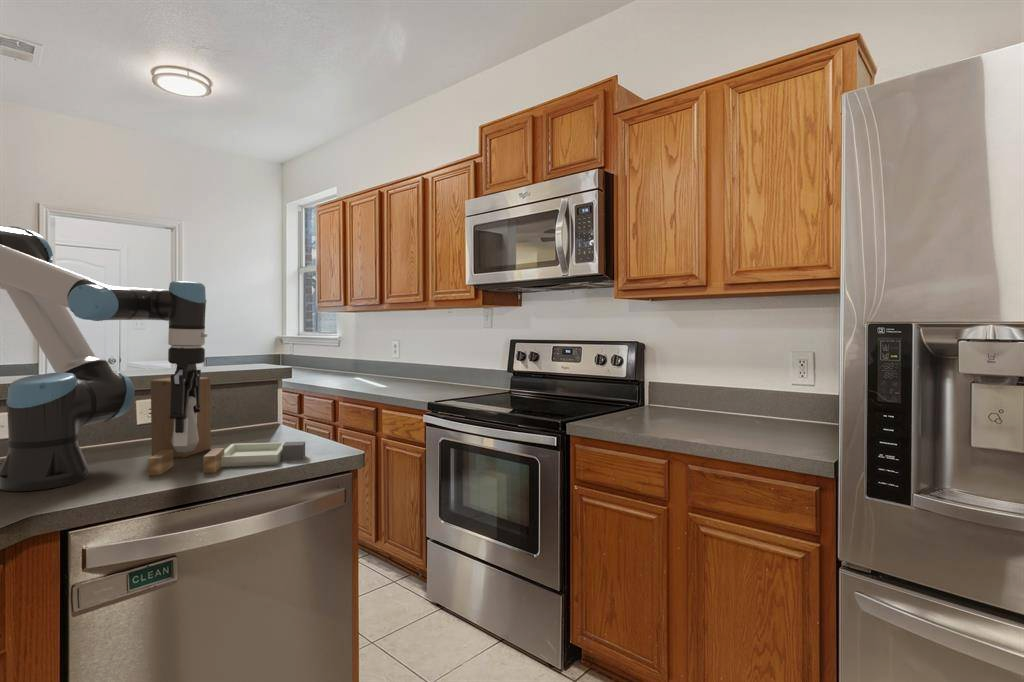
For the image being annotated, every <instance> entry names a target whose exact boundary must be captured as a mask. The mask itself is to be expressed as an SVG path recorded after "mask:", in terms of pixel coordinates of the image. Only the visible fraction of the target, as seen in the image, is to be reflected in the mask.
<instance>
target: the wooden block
mask: <svg viewBox="0 0 1024 682" xmlns="http://www.w3.org/2000/svg"><path fill="white" fill-rule="evenodd" d="M170 408H171V378H170V377H164V378H157V379H155V378H154V379H152V380H150V422H151V426H150V427H151V429H150V432H151V434H150V435H151V456H153V455H155V454H157V453H158V452H160V451H161V450H173V458H187V457H190V456H193V455H195V454H196V455H197V454H200V453H202V452H206V451H208V450H212V449H211V448H212V445H211V444H212V435H211V434H212V433H211V429H212V427H211V426H212V425H211V424H212V423H211V421H212V419H211V414H212V412H211V378H210V377H207V376H206V377H203V376H200V408H198V409H201V412H195V413H197V431H198V436H199V442H198V444H197V446H196V447H195V449H194V450H193V451H190V452H176V451H175V449H174V447H173V445H172V442H171V440H172V435H173V431H174V419H170V418H169V416H170Z"/></svg>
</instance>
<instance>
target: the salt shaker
mask: <svg viewBox="0 0 1024 682" xmlns="http://www.w3.org/2000/svg"><path fill="white" fill-rule="evenodd" d="M195 405H196V398H195V397H192V396H189V397H188V405H187V414H186V418H188V441H187V446H174V431H173V435H172V440H171V442H172V445H173V447H174V449H175V451H176V452H190V451H193V450H194V449H195V447H196V446H197V444H198V442H199V436H198V431H197V425H196V420H195V415H194V409H193V406H195Z"/></svg>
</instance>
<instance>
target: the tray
mask: <svg viewBox="0 0 1024 682" xmlns="http://www.w3.org/2000/svg"><path fill="white" fill-rule="evenodd" d="M284 443H285V441H281V442H279V441H277V442H253V443H251V442H249V443H248V442H247V443H244V442H243V443H231V444H229V446H227V447H226V448H224V455H223V456H222V457H221V468H226V467H227V468H230V467H231V466H232V467H249V466H250V467H251V466H254V467H255V466H275V465H276V466H277V465H279V464H280V462H281V460H283V444H284Z"/></svg>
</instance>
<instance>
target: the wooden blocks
mask: <svg viewBox="0 0 1024 682" xmlns="http://www.w3.org/2000/svg"><path fill="white" fill-rule="evenodd" d="M224 450H225V447H221V448H220V447H215V448H212V449H210V451H208V452H207V453H206V454H204V456H203V474H210V473H211V474H216V472H218V470H220V469H221V468H222V467H221V457H222V456H223V455H224ZM173 466H174V457H173V450H161V451H160V452H158V453H157V454H155V455H151V456H150V457H149V458H148V476H162V475H164V473H166V472H167V471H168V470H170V469H172V468H173Z"/></svg>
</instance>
